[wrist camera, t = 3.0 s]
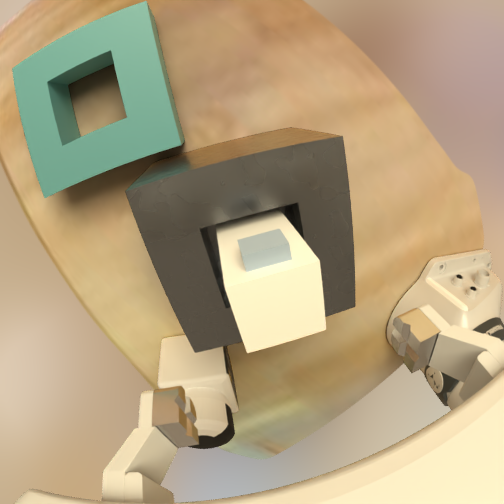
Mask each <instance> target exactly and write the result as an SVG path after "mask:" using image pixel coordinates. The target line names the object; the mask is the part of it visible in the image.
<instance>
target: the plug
mask: <svg viewBox="0 0 504 504" xmlns="http://www.w3.org/2000/svg"><path fill="white" fill-rule="evenodd" d="M216 232H217V239H218V246H219V253H220V260H221V267H222V273H223V280H224V286H225V290H226V293H227V296H228V299H229V302H230V305H231V308H232V311H233V314H234V317H235V320H236V323H237V326H238V328H239V331H240V334H241V337H242V340H243V343H244V346H245V348H246V351H247V353H250V352H254V351H257V350H261V349H265V348H268V347H272V346H275V345H279V344H282V343H285V342H289V341H292V340H295V339H299V338H302V337H305V336H308V335H311V334H314V333H317V332H320V331H323V330H326V321H325V309H324V297H323V287H322V277H321V268H320V260H319V259H318V258H317V256H316V255H315V254H314V253H313V251H312V250H311V249H310V247H309V246H308V245H307V244H306V242H305V241H304V240H303V238H302V237H301V236H300V235H299V233H298V232H297V231H296V230H295V228H294V227H293V226H292V224H291V223H290V222H289V221H288V219H287V218H286V217H285V216H284V214H283V213H282V212H281V211H280V209H279V208H274V209H270V210H266V211H262V212H259V213H255V214H251V215H247V216H243V217H240V218H236V219H232V220H229V221H225V222H221V223H218V224H216Z"/></svg>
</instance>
